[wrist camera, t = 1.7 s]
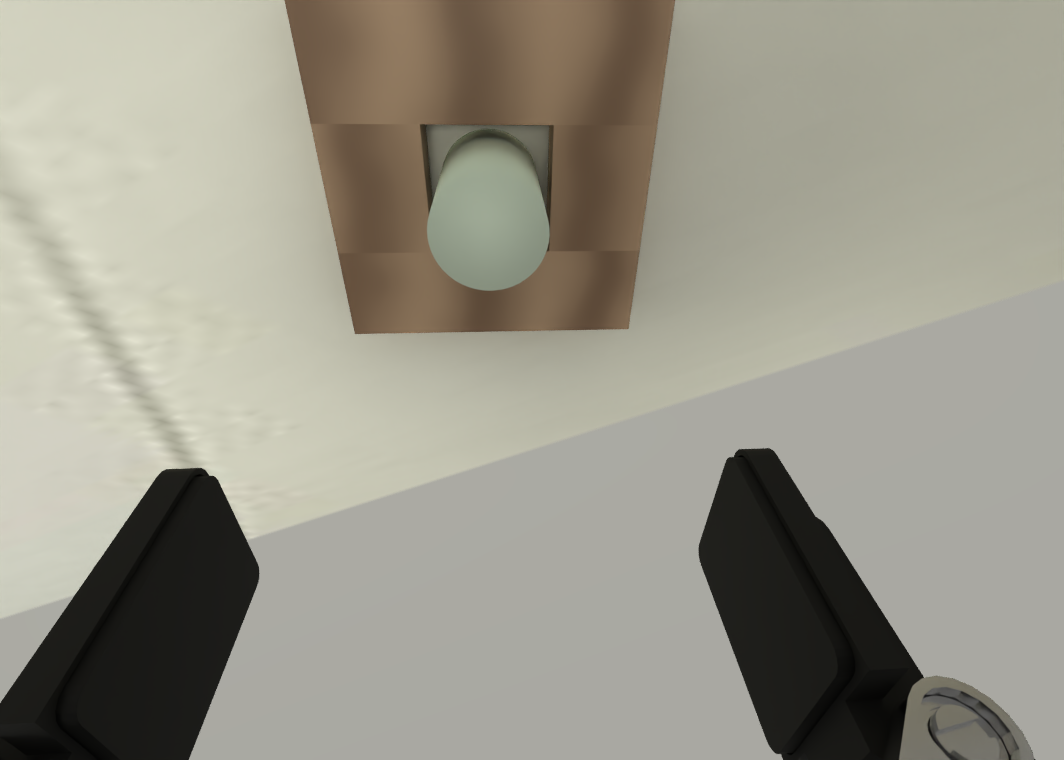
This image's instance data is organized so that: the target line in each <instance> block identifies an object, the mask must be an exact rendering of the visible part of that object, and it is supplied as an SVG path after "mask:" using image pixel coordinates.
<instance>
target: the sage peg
mask: <svg viewBox="0 0 1064 760" xmlns="http://www.w3.org/2000/svg"><path fill="white" fill-rule="evenodd" d="M549 236H550V233H549V222H548V217H547V213H546V209H545V205H544V201H543V197H542V193H541V189H540V185H539V181H538V177H537V173H536V169H535V165H534V162H533V160H532V157H531V155H530V153H529V152H528V150H527V149H526V148H525V146H524V145H523V144H522V143H521V142H520V141H519V140H517V139H516V138H515V137H513V136H512V135H510V134H508V133H506V132H503V131H500V130H495V129H481V130H476V131H473V132H470V133H468V134H466V135H464V136H463V137H461V138H460V139H459V140H458V141H457V142H456V143H455V144H454V145H453V146H452V147H451V149H450V150H449V152H448V154H447V156H446V158H445V161H444V164H443V168H442V171H441V175H440V178H439V182H438V185H437V189H436V192H435V195H434V199H433V202H432V206H431V209H430V213H429V217H428V223H427V237H428V243H429V246H430V250H431V252H432V254H433V257H434V259H435V260H436V262H437V263H438V265H439V266H440V267H441V268H442V270H443V271H444V272H445V273H446V274H447V275H448V276H450V277H451V278H452V279H454V280H455V281H457V282H459V283H460V284H462V285H465V286H467V287H470V288H473V289H478V290H486V291H494V290H502V289H506V288H509V287H512V286H515V285H517V284H519V283H521V282H522V281H524V280H525V279H527V278H528V277H529V276H530V275H532V273H533V272H534V271H535V270H536V269H537V268H538V266H539V265H540V264H541V262H542V260H543V258H544V256H545V254H546V251H547V248H548V244H549Z"/></svg>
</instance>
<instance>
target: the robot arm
mask: <svg viewBox="0 0 1064 760" xmlns="http://www.w3.org/2000/svg"><path fill="white" fill-rule="evenodd" d="M699 558H700V563H701V566H702V568H703V571H704V574H705V576H706V579H707V582H708V585H709V587H710V590H711V592H712V595H713V598H714V601H715V603H716V606H717V609H718V611H719V614H720V617H721V619H722V622H723V625H724V627H725V630H726V632H727V635H728V638H729V641H730V643H731V646H732V649H733V651H734V654H735V656H736V659H737V662H738V665H739V667H740V670H741V673H742V675H743V678H744V681H745V684H746V686H747V689H748V691H749V694H750V697H751V699H752V702H753V705H754V708H755V710H756V713H757V716H758V718H759V721H760V724H761V726H762V729H763V732H764V734H765V737H766V740H767V742H768V744H769V746H770V747H771V749H772V750H773V751H774V752H775V753H776V754H781V755H782V758H783V760H1035V759H1034V757H1033V752H1032V750H1031V748H1030V746H1029V744H1028V742H1027V740H1026V738H1025V737H1024V734H1023V733H1022V731H1021V730H1020V729H1019V727H1018V726H1017V725H1016V724H1015V722H1014V721H1013V720H1012V719H1011V718H1010V716H1009V715H1008V714H1007V713H1006V712H1005V711H1004V710H1003V709H1002V708H1001V707H1000V706H998V705H997V704H996V703H995V702H994V701H993V700H992V699H991V698H989V697H988V696H986V695H985V694H983V693H981V692H980V691H978V690H977V689H975V688H974V687H972V686H970V685H967V684H965V683H963V682H960V681H958V680H955V679H953V678H947V677H940V676H932V677H926V678H924V677H923V675H922V674H921V672H920V670H919V669H918V667H917V666H916V665H915V663H914V661H913V660H912V658H911V656H910V655H909V653H908V652H907V650H906V649H905V647H904V645H903V644H902V643H901V641H900V639H899V638H898V636H897V635H896V633H895V631H894V630H893V628H892V627H891V625H890V624H889V622H888V620H887V619H886V617H885V616H884V614H883V613H882V611H881V609H880V608H879V607H878V605H877V603H876V602H875V600H874V599H873V597H872V595H871V594H870V592H869V591H868V589H867V588H866V586H865V584H864V583H863V581H862V580H861V578H860V577H859V575H858V573H857V572H856V570H855V569H854V567H853V566H852V564H851V563H850V561H849V559H848V558H847V556H846V555H845V553H844V552H843V550H842V548H841V547H840V545H839V544H838V542H837V541H836V539H835V538H834V536H833V534H832V533H831V531H830V530H829V528H828V527H827V526H826V525H825V524H824V522H823V521H821V520H820V519H818V518H817V517H815V515H814V514H813V512H812V510H811V509H810V507H809V506H808V504H807V502H806V501H805V499H804V498H803V496H802V494H801V493H800V491H799V490H798V488H797V486H796V485H795V483H794V482H793V480H792V479H791V477H790V475H789V474H788V472H787V471H786V469H785V467H784V466H783V464H782V463H781V461H780V459H779V458H778V456H777V455H776V453H775V452H774V451H773V450H771V449H769V448H766V449H739V450H738V451H737V452H736V453H735V455H734V457H729V458H728V459H727V460H726V463H725V466H724V469H723V472H722V475H721V478H720V481H719V485H718V488H717V491H716V494H715V497H714V500H713V503H712V506H711V509H710V512H709V516H708V519H707V522H706V525H705V529H704V531H703V534H702V537H701V540H700V544H699ZM258 580H259V566H258V564H257V562H256V559H255V557H254V555H253V553H252V551H251V549H250V547H249V545H248V542H247V540H246V538H245V536H244V534H243V532H242V530H241V528H240V526H239V524H238V521H237V519H236V517H235V515H234V513H233V511H232V509H231V507H230V505H229V502H228V500H227V498H226V496H225V494H224V492H223V490H222V488H221V486H220V484H219V481H218V480H217V478H216V477H214V476H209V475H208V473H207V472H206V470H204V469H202V468H190V469H166V470H164V471H162V472H161V473H160V474H159V475H158V476H157V478H156V479H155V481H154V482H153V483H152V485H151V486H150V488H149V489H148V491H147V492H146V494H145V495H144V496H143V498H142V499H141V501H140V502H139V504H138V505H137V507H136V508H135V509H134V511H133V512H132V514H131V515H130V517H129V518H128V520H127V521H126V522H125V524H124V525H123V527H122V528H121V530H120V531H119V533H118V534H117V535H116V537H115V538H114V540H113V541H112V543H111V544H110V546H109V547H108V548H107V550H106V551H105V553H104V554H103V556H102V557H101V559H100V560H99V561H98V563H97V564H96V566H95V567H94V568H93V570H92V571H91V573H90V574H89V576H88V577H87V579H86V580H85V581H84V583H83V584H82V586H81V587H80V589H79V590H78V592H77V593H76V594H75V596H74V597H73V599H72V600H71V602H70V603H69V605H68V606H67V608H66V609H65V610H64V612H63V613H62V615H61V616H60V618H59V619H58V620H57V622H56V623H55V625H54V626H53V628H52V629H51V631H50V632H49V633H48V635H47V636H46V638H45V639H44V641H43V642H42V644H41V645H40V647H39V648H38V649H37V651H36V652H35V654H34V655H33V657H32V658H31V659H30V661H29V662H28V664H27V665H26V667H25V668H24V670H23V671H22V672H21V674H20V676H19V677H18V678H17V680H16V681H15V683H14V684H13V686H12V687H11V688H10V690H9V691H8V693H7V694H6V696H5V697H4V699H3V700H2V701H1V703H0V760H189V757H190V755H191V752H192V750H193V747H194V745H195V742H196V739H197V737H198V735H199V732H200V729H201V727H202V724H203V722H204V719H205V717H206V714H207V711H208V709H209V707H210V704H211V701H212V699H213V696H214V694H215V691H216V689H217V686H218V684H219V681H220V679H221V676H222V674H223V671H224V669H225V666H226V663H227V661H228V658H229V656H230V653H231V651H232V648H233V646H234V643H235V641H236V638H237V636H238V633H239V630H240V628H241V625H242V623H243V620H244V618H245V615H246V613H247V610H248V608H249V605H250V603H251V600H252V597H253V595H254V592H255V590H256V587H257V584H258Z"/></svg>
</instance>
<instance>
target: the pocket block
mask: <svg viewBox="0 0 1064 760" xmlns="http://www.w3.org/2000/svg"><path fill="white" fill-rule="evenodd" d="M285 4H286V9H287V14H288V18H289V23H290V28H291V33H292V37H293V42H294V47H295V52H296V56H297V61H298V66H299V71H300V75H301V80H302V85H303V89H304V94H305V99H306V104H307V108H308V113H309V118H310V123H311V127H312V132H313V137H314V142H315V146H316V151H317V156H318V160H319V165H320V170H321V175H322V179H323V184H324V189H325V194H326V198H327V203H328V208H329V213H330V217H331V222H332V227H333V232H334V236H335V241H336V246H337V250H338V255H339V260H340V265H341V269H342V274H343V279H344V284H345V288H346V293H347V298H348V303H349V307H350V312H351V317H352V321H353V326H354V331H355V334H372V333H429V332H485V331H541V330H597V329H628V328H629V321H630V314H631V307H632V300H633V293H634V286H635V279H636V272H637V264H638V257H639V250H640V243H641V236H642V229H643V222H644V215H645V208H646V201H647V194H648V187H649V180H650V173H651V166H652V159H653V152H654V145H655V138H656V131H657V124H658V117H659V110H660V103H661V96H662V89H663V82H664V74H665V67H666V60H667V53H668V46H669V39H670V32H671V25H672V18H673V11H674V4H675V0H285ZM425 124H449V125H549V156H548V187H547V217H548V222H549V233H550V236H549V244H548V248H547V251H546V254H545V256H544V258H543V260H542V262H541V264H540V265H539V266H538V268H537V269H536V270H535V271H534V272H533V273H532V275H530V276H529V277H528V278H527V279H525V280H524V281H522V282H521V283H519V284H517V285H515V286H512V287H509V288H506V289H502V290H494V291H486V290H478V289H473V288H470V287H467V286H465V285H462V284H460V283H459V282H457V281H455V280H454V279H452V278H451V277H450V276H448V275H447V274H446V273H445V272H444V271H443V270H442V268H441V267H440V266H439V265H438V263H437V262H436V260H435V259H434V257H433V254H432V252H431V250H430V246H429V243H428V237H427V223H428V217H429V213H430V209H431V206H432V202H433V199H432V188H431V178H430V167H429V157H428V146H427V135H426V125H425Z"/></svg>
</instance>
